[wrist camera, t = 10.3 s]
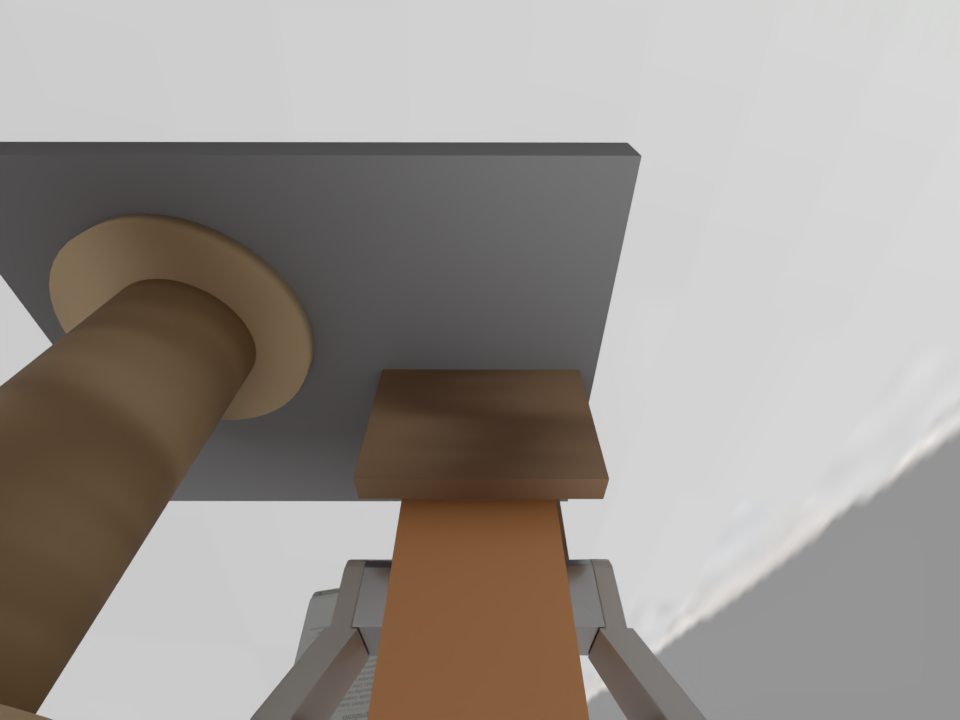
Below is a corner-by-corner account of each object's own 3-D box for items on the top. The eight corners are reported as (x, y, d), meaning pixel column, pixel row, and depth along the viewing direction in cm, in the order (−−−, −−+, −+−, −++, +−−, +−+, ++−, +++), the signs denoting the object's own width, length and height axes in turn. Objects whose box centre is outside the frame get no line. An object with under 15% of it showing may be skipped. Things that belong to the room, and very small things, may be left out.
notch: (405, 499, 18) (389, 605, 15) (382, 369, 14) (353, 479, 10) (555, 500, 18) (571, 605, 15) (579, 369, 14) (609, 479, 10)
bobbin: (138, 406, 15) (-227, 835, 7) (9, 213, 11) (-1157, 729, 3) (334, 407, 15) (178, 835, 7) (279, 214, 11) (-220, 730, 3)
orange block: (419, 537, 15) (385, 842, 10) (407, 461, 12) (352, 818, 7) (538, 537, 15) (571, 842, 10) (550, 461, 12) (604, 818, 7)
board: (184, 476, 19) (169, 500, 18) (-40, 141, 11) (-90, 154, 10) (563, 476, 19) (567, 501, 18) (627, 142, 11) (641, 156, 10)
